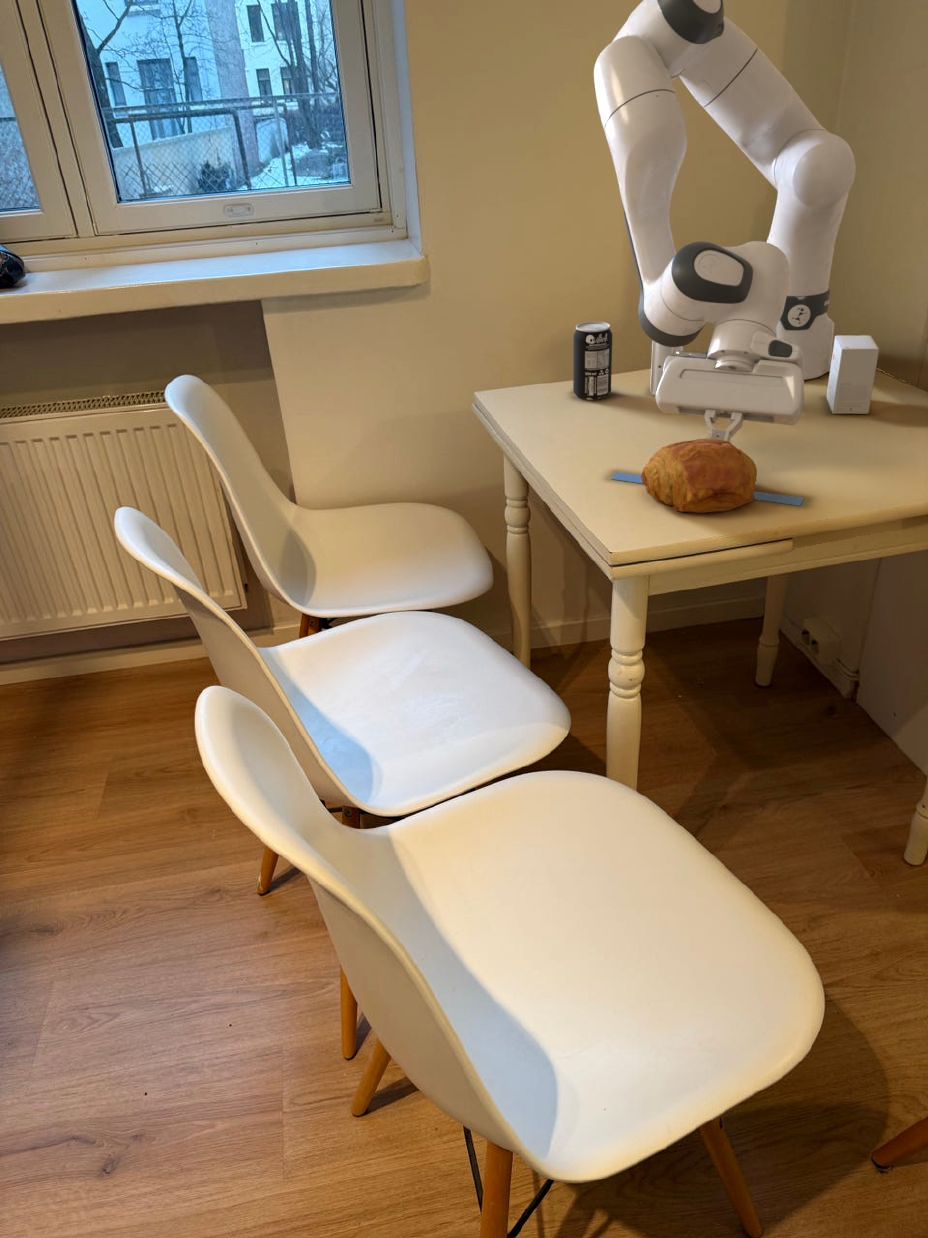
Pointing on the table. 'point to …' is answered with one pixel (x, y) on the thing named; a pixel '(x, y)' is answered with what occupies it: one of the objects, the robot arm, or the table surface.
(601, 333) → the beverage can
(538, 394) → the table surface
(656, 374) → the photo printer
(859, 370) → the small box
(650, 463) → the croissant
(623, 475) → the tape line
